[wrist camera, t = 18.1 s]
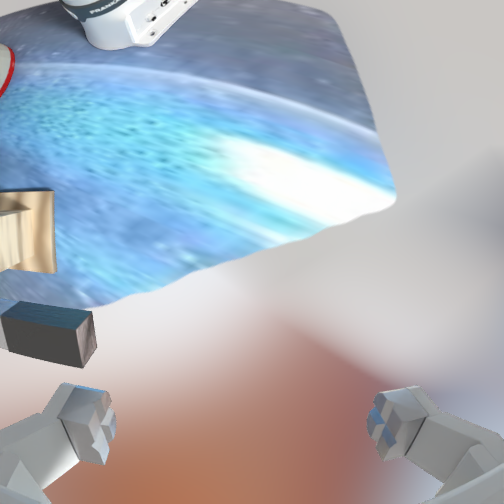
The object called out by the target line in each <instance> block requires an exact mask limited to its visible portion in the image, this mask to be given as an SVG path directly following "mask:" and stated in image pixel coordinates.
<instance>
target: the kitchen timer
mask: <svg viewBox="0 0 504 504" xmlns="http://www.w3.org/2000/svg"><path fill="white" fill-rule="evenodd" d="M14 65H15V57H14V53H13V51H12V49H11V48H9V47H7V46H5V45H3V44H0V97H1V96H2V94H3V93H4V91H5V90H6V88H7V86H8V84H9V82H10V80H11V77H12V74H13V71H14Z"/></svg>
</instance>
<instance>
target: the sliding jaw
mask: <svg viewBox="0 0 504 504" xmlns="http://www.w3.org/2000/svg"><path fill="white" fill-rule="evenodd" d="M0 348H2V349H6V350H9V352H13V353H16V354H20V355H24V356H28V357H32V358H36V359H40V360H44V361H49V362H53V363H58V364H63V365H67V366H72V367H77V368H84V366H85V364H86V363H87V362H88V360H89V359H90V357H91V356H92V354H93V353H94V351H95V350H96V348H97V343H96V336H95V330H94V322H93V315H92V311H86V310H78V309H70V308H63V307H56V306H49V305H43V304H36V303H30V302H24V301H19V302H18V301H13V300H7V299H2V298H0Z"/></svg>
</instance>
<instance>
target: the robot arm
mask: <svg viewBox="0 0 504 504" xmlns="http://www.w3.org/2000/svg"><path fill="white" fill-rule="evenodd" d="M59 1H60V3H61V4H62V5H63V7H64V8H65V10H66V11H67V12H68V13H69V14H71V15H72V16H73V17H74V18H75V19H77V20H79V21H80V22H81V24H82V26H83V28H84V30H85V34H86V37H87V39H88V41H89V42H90V43H91V44H92V45H93V46H95V47H97V48H99V49H103V50H117V49H122V48H126V47H130V46H139V47H149V46H151V45H153V44H154V43H155V42H156V41H157V40H158V39H159V38H160V37H161V36H162V35H163V34H164V33H165V32H166V31H167V30H168V29H169V28H170V27H171V26H172V25H173V24H174V23H175V22H176V21H177V20H178V19H179V18H180V17H181V16H182V15H183V14H184V13H185V12H186V11H187V10H188V9H189V8H190V7H192V6H193V5H194V4H195V3H196V2H197V1H198V0H59ZM153 33H155V34H154V35H153V36H151V34H153ZM373 403H374V405H375V407H374V408H373V409H372V410H371V411H370V412H369V414H368V418H367V430H368V433H369V436H370V437H371V439H373V440H375V441H376V442H377V445H376V449H377V451H378V453H379V455H380V457H381V459H382V461H387V460H391V459H396V458H399V457H403V456H405V458H407V459H408V460H410V461H411V462H412V463H414V464H415V465H417V466H418V467H420V468H421V469H423V470H424V471H426V472H427V473H429V474H430V475H432V476H433V477H435V478H436V479H438V480H440V481H441V482H443V483H444V484H443V485H442V486H441V487H440V489H439V490H438V491H437V493H436V495H435V498H432V499H430V500H427V501H425V502H422V503H419V504H504V439H503V438H502V437H501V436H500V435H499V434H498V433H496V432H493V431H491V430H488V429H486V428H483V427H481V426H478V425H475V424H473V423H471V422H468V421H466V420H463V419H461V418H459V417H456V416H454V415H451V414H449V413H447V412H444V413H442V412H441V411H440V410H439V408H438V407H437V406H436V405H435V404H434V402H433V401H432V400H431V399H430V397H428V395H427V394H426V393H425V392H424V391H423V389H422V388H421V387H420V386H418V385H415V386H410V387H405V388H402V389H396V390H390V391H384V392H378V394H377V395H376V396H375V398H374V401H373ZM110 404H111V398H110V395H109V393H108V392H107V391H103V390H98V389H93V388H88V387H84V386H79V385H78V386H77V385H73V384H69V383H62V384H61V385H60V386H59V388H58V389H57V390H56V392H55V394H54V395H53V397H52V398H51V400H50V401H49V403H48V405H47V406H46V407H45V409H44V411H43V412H42V414H40V413H36V414H34V415H32V416H30V417H28V418H26V419H24V420H21V421H19V422H17V423H15V424H13V425H10V426H8V427H6V428H4V429H2V430H0V504H52V503H51V501H50V500H49V499H48V498H47V496H46V495H45V494H44V492H43V491H42V490H43V489H44V488H46V487H47V486H48V485H49V484H51V483H52V482H53V481H55V480H56V479H57V478H59V477H60V476H61V475H63V474H64V473H65V472H66V471H68V470H69V469H70V468H72V467H73V466H74V465H75V464H77V463H78V462H79V460H81V461H86V462H90V463H95V464H100V465H105V462H106V459H107V456H108V454H109V450H110V449H109V446H108V443H109V442H110V441H112V440H113V439H114V435H115V431H116V417H115V413H114V411H113V410H112V409H111V408H110V407H109V406H110Z"/></svg>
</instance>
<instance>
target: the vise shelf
mask: <svg viewBox="0 0 504 504" xmlns="http://www.w3.org/2000/svg"><path fill="white" fill-rule="evenodd" d="M7 268H9V269H17V270H26V271H34V272H43V273H55V272H57V263H56V249H55V228H54V191H28V192H2V193H0V272H2V271H4V270H6V269H7Z"/></svg>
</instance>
